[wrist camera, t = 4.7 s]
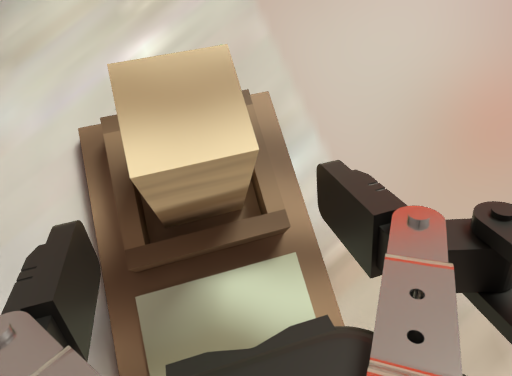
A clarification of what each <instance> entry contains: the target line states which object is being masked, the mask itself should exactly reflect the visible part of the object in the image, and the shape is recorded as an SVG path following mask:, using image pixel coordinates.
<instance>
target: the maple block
mask: <svg viewBox="0 0 512 376" xmlns="http://www.w3.org/2000/svg"><path fill="white" fill-rule="evenodd" d="M107 66H108V71H109V76H110V81H111V86H112V91H113V96H114V101H115V106H116V111H117V116H118V121H119V126H120V131H121V136H122V141H123V146H124V151H125V156H126V161H127V166H128V171H129V176H130V179H131V181H132V182H133V183H134V185H135V186H136V188H137V189H138V190H139V192H140V193H141V194H142V196H143V197H144V199H145V200H146V201H147V203H148V204H149V206H150V207H151V208H152V210H153V211H154V213H155V214H156V215H157V217H158V218H159V219H160V221H161V222H162V224H163V225H164V226H165V228H169V227H173V226H177V225H181V224H185V223H189V222H193V221H197V220H201V219H205V218H209V217H213V216H217V215H221V214H225V213H229V212H233V211H237V210H241V209H242V208H243V205H244V201H245V198H246V194H247V191H248V187H249V184H250V180H251V177H252V173H253V170H254V166H255V163H256V159H257V156H258V152H259V147H258V144H257V140H256V137H255V134H254V130H253V127H252V124H251V120H250V117H249V114H248V111H247V107H246V104H245V101H244V97H243V94H242V91H241V87H240V84H239V81H238V78H237V74H236V71H235V68H234V64H233V61H232V58H231V55H230V51H229V48H228V45H227V44H225V45H219V46H213V47H207V48H201V49H195V50H189V51H183V52H177V53H171V54H165V55H159V56H153V57H148V58H142V59H136V60H130V61H124V62H118V63H112V64H107Z"/></svg>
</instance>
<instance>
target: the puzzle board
mask: <svg viewBox="0 0 512 376" xmlns="http://www.w3.org/2000/svg"><path fill="white" fill-rule="evenodd" d="M242 94H243V97H244V101H245V104H246V107H247V111H248V114H249V117H250V120H251V124H252V127H253V130H254V134H255V137H256V140H257V144H258V147H259V152H258V156H257V159H256V163H255V166H254V170H253V173H252V177H251V180H250V184H249V187H248V191H247V194H246V198H245V201H244V205H243V208H242V209H241V210H237V211H233V212H229V213H225V214H221V215H217V216H213V217H209V218H205V219H201V220H197V221H193V222H189V223H185V224H181V225H177V226H173V227H169V228H165V226H164V225H163V224H162V222H161V221H160V219H159V218H158V217H157V215H156V214H155V213H154V211H153V210H152V208H151V207H150V206H149V204H148V203H147V201H146V200H145V199H144V197H143V196H142V194H141V193H140V192H139V190H138V189H137V188H136V186H135V185H134V183H133V182H132V181H131V179H130V176H129V171H128V166H127V161H126V156H125V151H124V146H123V141H122V136H121V131H120V126H119V121H118V116H117V115H112V116H107V117H102V118H100V120H101V124H98V125H93V126H88V127H83V128H78V131H79V137H80V143H81V149H82V155H83V161H84V167H85V173H86V179H87V185H88V191H89V197H90V203H91V209H92V215H93V221H94V227H95V233H96V239H97V245H98V251H99V257H100V263H101V269H102V275H103V281H104V287H105V293H106V299H107V305H108V311H109V317H110V323H111V329H112V335H113V341H114V347H115V353H116V359H117V365H118V371H119V376H166V367H165V365H167V364H170V363H174V362H177V361H180V360H183V359H186V358H190V357H193V356H196V355H199V354H202V353H206V352H212V351H225V350H237V349H249V348H253V347H255V346H257V345H259V344H261V343H262V342H264V341H266V340H267V339H269V338H271V337H273V336H274V335H276V334H278V333H279V332H281V331H283V330H284V329H286V328H288V327H289V326H292V325H295V324H299V323H302V322H305V321H308V320H311V319H315V318H318V317H321V316H324V315H328V316H329V318H330V320H331V322H332V323H333V325H334V326H344V323H343V320H342V316H341V313H340V310H339V307H338V304H337V301H336V298H335V295H334V292H333V289H332V286H331V283H330V279H329V276H328V273H327V270H326V267H325V264H324V261H323V258H322V255H321V252H320V249H319V246H318V243H317V239H316V236H315V233H314V230H313V227H312V224H311V221H310V218H309V215H308V212H307V209H306V206H305V203H304V199H303V196H302V193H301V190H300V187H299V184H298V181H297V178H296V175H295V172H294V169H293V166H292V162H291V159H290V156H289V153H288V150H287V147H286V144H285V141H284V138H283V135H282V132H281V129H280V126H279V122H278V119H277V116H276V113H275V110H274V107H273V104H272V101H271V98H270V95H269V92H268V91H267V92H262V93H257V94H252V95H250V93H249V90H248V89H247V90H242Z"/></svg>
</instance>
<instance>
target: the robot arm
mask: <svg viewBox="0 0 512 376" xmlns="http://www.w3.org/2000/svg"><path fill="white" fill-rule="evenodd" d="M317 195H318V207H319V211H320V214H321V216H322V218H323V219H324V221H325V222H326V223H327V224H328V226H329V227H330V228H331V229H332V231H333V232H334V233H335V234H336V236H337V237H338V238H339V239H340V241H341V242H342V243H343V244H344V246H345V247H346V248H347V250H348V251H349V252H350V253H351V255H352V256H353V257H354V258H355V260H356V261H357V262H358V263H359V265H360V266H361V267H362V268H363V270H364V271H365V272H366V273H367V275H368V276H369V277H370V278H374V277H377V276H380V275H382V281H381V287H380V294H379V301H378V308H377V315H376V321H375V328H374V332H372V331H369V330H365V329H361V328H356V327H349V326H334V325H333V323H332V322H331V320H330V318H329V316H328V315H324V316H321V317H318V318H315V319H311V320H308V321H305V322H302V323H299V324H295V325H292V326H289V327H288V328H286V329H284V330H283V331H281V332H279V333H278V334H276V335H274V336H273V337H271V338H269V339H267V340H266V341H264V342H262V343H261V344H259V345H257V346H255V347H253V348H249V349H237V350H225V351H212V352H206V353H202V354H199V355H196V356H193V357H190V358H186V359H183V360H180V361H177V362H174V363H170V364H167V365H165V367H166V376H466V375H464V374H462V364H461V351H460V339H459V326H458V313H457V301H456V293H463V294H464V295H465V296H466V297H467V298H468V299H469V301H470V302H471V303H472V304H473V305H474V306H475V307H476V308H477V309H478V310H479V311H480V312H481V313H482V314H483V315H484V316H485V317H486V318H487V319H488V320H489V321H490V322H491V323H492V324H493V325H494V326H495V327H496V328H497V330H498V331H499V332H500V333H501V334H502V335H503V336H504V337H505V338H506V339H507V340H508V341H509V342H510V343H511V344H512V204H509V203H505V202H494V201H492V202H484V203H481V204H478V205H477V206H476V207H475V208H474V211H473V216H472V219H454V220H453V219H452V220H445V218H444V217H443V216H442V215H441V214H440V213H439V212H437V211H435V210H433V209H431V208H428V207H423V206H407V205H406V204H405V203H403V202H402V201H401V200H400V199H399V198H397V197H396V196H395V195H394V194H392V193H391V192H390V191H389V190H387V189H385V187H384V186H382V185H381V184H380V183H378V182H377V181H376V180H375V179H374V178H372V177H371V176H370V175H369V174H366V173H363V172H361V171H358V170H351V169H349V168H348V167H347V166H346V165H344V163H343V162H341V161H340V160H336V161H331V162H327V163H323V164H319V165H318V166H317ZM100 277H101V271H100V265H99V261H98V258H97V256H96V253H95V251H94V249H93V246H92V244H91V242H90V239H89V237H88V235H87V232H86V230H85V228H84V226H83V224H82V222H81V221H79V220H77V221H73V222H69V223H64V224H60V225H56V226H53V227H52V229H51V232H50V234H49V237H48V239H47V242H46V244H43V245H39V246H38V247H37V248H36V249H35V250H34V251H33V252H32V253H31V254H30V255H29V256H28V257H27V258H26V260H25V262H24V265H23V267H22V269H21V272H20V274H19V276H18V278H17V283H15V285H14V287H13V289H12V291H11V294H10V296H9V298H8V300H7V303H6V305H5V307H4V309H3V311H2V314H1V315H0V376H101V375H100V374H99V373H98V372H97V371H95V370H94V369H93V368H92V367H91V366H90V365H89V364H88V363H87V360H88V354H89V347H90V341H91V335H92V328H93V322H94V315H95V309H96V303H97V296H98V290H99V284H100Z"/></svg>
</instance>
